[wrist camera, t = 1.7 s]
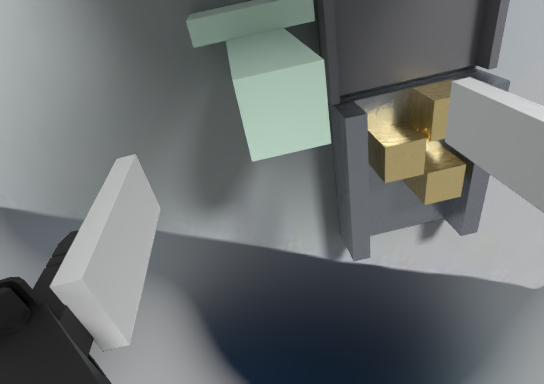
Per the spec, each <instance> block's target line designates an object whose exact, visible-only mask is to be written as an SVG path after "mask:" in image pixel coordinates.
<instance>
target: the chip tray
mask: <svg viewBox="0 0 544 384" xmlns="http://www.w3.org/2000/svg"><path fill="white" fill-rule="evenodd" d="M315 1H316V12H317V23H318V34H319V44H320V55H321V58H322V59H324V65H325V76H326V88H327V99H328V102H329V103H330V104H331V105H335V104H339V103H340V96H341V95H345V94H350V93H354V92H358V91H363V90H367V89H372V88H376V87H380V86H385V85H389V84H393V83H398V82H402V81H407V80H411V79H415V78H420V77H424V76H429V75H433V74H437V73H442V72H446V71H451V70H455V69H459V68H464V67H468V66H473V65H477V66H480V67H483V68H486V69H493V68H497V63H498V58H499V53H500V47H501V42H502V37H503V32H504V27H505V22H506V16H507V11H508V6H509V1H510V0H315Z"/></svg>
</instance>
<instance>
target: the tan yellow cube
mask: <svg viewBox="0 0 544 384" xmlns="http://www.w3.org/2000/svg"><path fill="white" fill-rule="evenodd" d="M465 169H466V164H465V163H464V162H463V161H461V160H460V159H459V158H457V157H456V156H455V155H453V154H452V153H451V152H449V151H448V150H447V149H445V148H444V147H442V148H438V149H433V150H429V151H426V155H425V166H424V174H423V175H418V176H414V177H410V178H407V186H408V187H409V189H410V190H411V191H412V192H413V193H414V194H415V195H416V196H417V197H418V198H419V200H420V201H421V202H422V203H423V204H424V205H427V204H431V203H436V202H440V201H444V200H448V199H452V198H457V197H461V192H462V187H463V181H464V175H465Z"/></svg>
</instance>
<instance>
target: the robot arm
mask: <svg viewBox="0 0 544 384" xmlns="http://www.w3.org/2000/svg"><path fill="white" fill-rule="evenodd" d="M445 142H446V143H447V144H449V145H450V146H451V147H453V148H454V149H456V150H457V151H458V152H460V153H461V154H462V155H464V156H465V157H467V158H468V159H469V160H471V161H472V162H474V163H475V164H476V165H478V166H479V167H481V168H482V169H483V170H485V171H486V172H488V173H489V174H490V175H492V176H493V177H494V178H496V179H497V180H499V181H500V182H501V183H503V184H504V185H506V186H507V187H508V188H510V189H511V190H513V191H514V192H515V193H517V194H518V195H520V196H521V197H522V198H524V199H525V200H526V201H528V202H529V203H531V204H532V205H533V206H535V207H536V208H538V209H539V210H540V211H542V212H543V213H544V106H542V105H539V104H537V103H534V102H532V101H529V100H527V99H524V98H522V97H519V96H517V95H514V94H511V93H509V92H506V91H504V90H501V89H499V88H496V87H494V86H491V85H489V84H486V83H484V82H481V81H479V80H476V79H474V78H471V77H468V78H464V79H459V80H455V81H452V85H451V94H450V102H449V110H448V119H447V127H446V136H445ZM160 209H161V208H160V206H159V204H158V201H157V199H156V197H155V195H154V193H153V191H152V188H151V186H150V184H149V182H148V180H147V178H146V175H145V173H144V171H143V169H142V167H141V165H140V162H139V160H138V158H137V156H136V154H134V155H130V156H126V157H121V158H117V159H116V161H115V163H114V165H113V167H112V169H111V171H110V172H109V174H108V176H107V178H106V180H105V182H104V184H103V186H102V188H101V190H100V192H99V193H98V195H97V197H96V199H95V201H94V203H93V205H92V207H91V209H90V211H89V213H88V214H87V216H86V218H85V220H84V222H83V224H82V226H81V228H80V230H77V231H73V232H70V234H69V235H67V236H66V237H65V238H64V239H63V240H62V241H61V242H60V243H59V244H58V246H57V248H56V250H55V251H54V253H53V255H52V258H51V259H50V260H49V262H48V264H47V265H46V267H47V268H45V269H44V270H43V272H42V274H41V276H40V278H39V279H38V281H37V283H36V284H35V286H34V288H33V290H32V288H31V287H30V286H29V285H28V284H27V283H26V282H25V280H23V279H21V278H20V277H9V278H6V279H2V280H0V384H111V382H110V381H109V379H108V378H107V377H106V375H105V374H104V373H103V371H102V370H101V369H100V367H99V366H98V364H97V363H96V362H95V360H94V359H93V358H92V357H91V356H90V354H89V351H90V348H91V345H92V342H93V340H94V341H95V342H96V344H97V345H98V346H99V347H100V348H101V349H102V351H103V352H104V351H108V350H112V349H116V348H120V347H124V346H128V345H130V343H131V339H132V334H133V330H134V325H135V321H136V317H137V312H138V308H139V303H140V298H141V294H142V290H143V285H144V281H145V276H146V272H147V267H148V262H149V258H150V254H151V250H152V245H153V241H154V236H155V232H156V227H157V223H158V218H159V214H160Z"/></svg>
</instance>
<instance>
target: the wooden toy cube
mask: <svg viewBox="0 0 544 384" xmlns="http://www.w3.org/2000/svg"><path fill="white" fill-rule="evenodd" d="M426 144H427V138H426V137H425V136H424V135H422V134H421V133H420V132H419V131H417V130H416V129H415V128H413V127H412V126H411V125H409V124H408V123H407V122H405V123H401V124H396V125H392V126H388V127H383V128H379V129H375V130H370V131H369V164H370V166H371V167H372V168H373V169H374V171H375V172H376V173H377V174H378V176H379V177H380V178H381V179H382V180H383V182H384V183H388V182H393V181H397V180H401V179H406V178H410V177H414V176H418V175H423V174H424V166H425V155H426Z"/></svg>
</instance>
